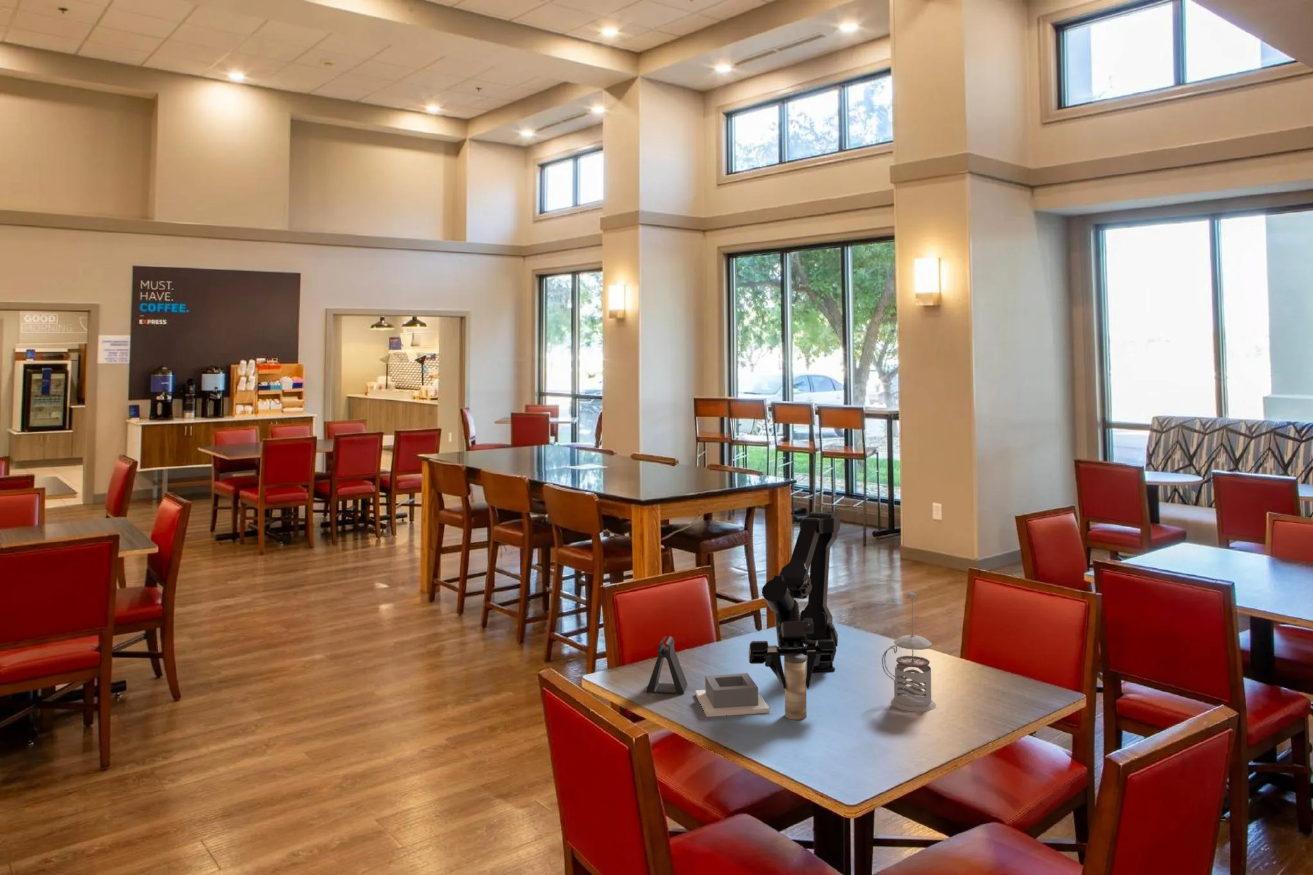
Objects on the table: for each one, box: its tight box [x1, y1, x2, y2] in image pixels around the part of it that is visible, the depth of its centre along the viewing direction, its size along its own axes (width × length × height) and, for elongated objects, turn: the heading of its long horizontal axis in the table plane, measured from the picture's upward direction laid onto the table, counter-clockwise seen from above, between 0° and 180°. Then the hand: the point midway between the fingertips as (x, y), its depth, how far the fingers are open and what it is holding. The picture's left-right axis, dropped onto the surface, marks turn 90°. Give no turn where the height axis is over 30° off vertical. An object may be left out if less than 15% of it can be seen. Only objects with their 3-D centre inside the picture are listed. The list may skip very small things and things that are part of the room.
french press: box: [881, 592, 937, 712], centre depth 189 cm, size 10×12×25 cm
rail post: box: [783, 653, 808, 721], centre depth 183 cm, size 5×5×13 cm
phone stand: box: [645, 635, 688, 695], centre depth 201 cm, size 9×6×12 cm, turn 79°
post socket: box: [694, 672, 771, 718], centre depth 191 cm, size 14×14×5 cm
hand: (796, 687), depth 181 cm, fingers closed on rail post, 5 cm apart
